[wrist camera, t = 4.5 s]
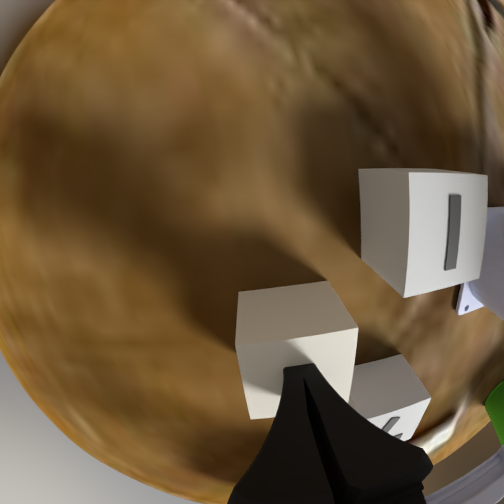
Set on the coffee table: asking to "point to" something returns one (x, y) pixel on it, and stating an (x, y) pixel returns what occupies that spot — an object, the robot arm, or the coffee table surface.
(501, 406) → the cup
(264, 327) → the cream block
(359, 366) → the white marked cube 7
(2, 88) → the coffee table surface
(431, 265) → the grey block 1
